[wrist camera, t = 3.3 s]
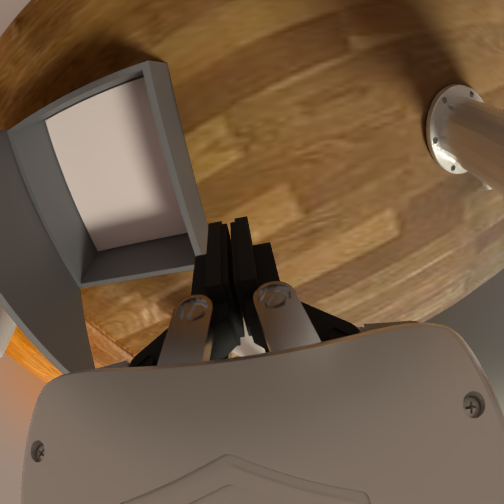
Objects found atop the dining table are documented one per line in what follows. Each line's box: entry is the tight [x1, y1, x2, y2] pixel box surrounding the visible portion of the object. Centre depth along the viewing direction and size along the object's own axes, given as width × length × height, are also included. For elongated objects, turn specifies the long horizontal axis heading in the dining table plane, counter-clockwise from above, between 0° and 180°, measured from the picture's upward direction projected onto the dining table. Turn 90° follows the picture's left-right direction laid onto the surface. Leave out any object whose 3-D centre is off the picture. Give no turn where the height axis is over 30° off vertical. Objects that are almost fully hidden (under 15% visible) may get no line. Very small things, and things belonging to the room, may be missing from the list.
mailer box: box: [7, 60, 208, 288], centre depth 25 cm, size 16×20×7 cm
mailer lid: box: [0, 130, 95, 374], centre depth 17 cm, size 17×20×1 cm
